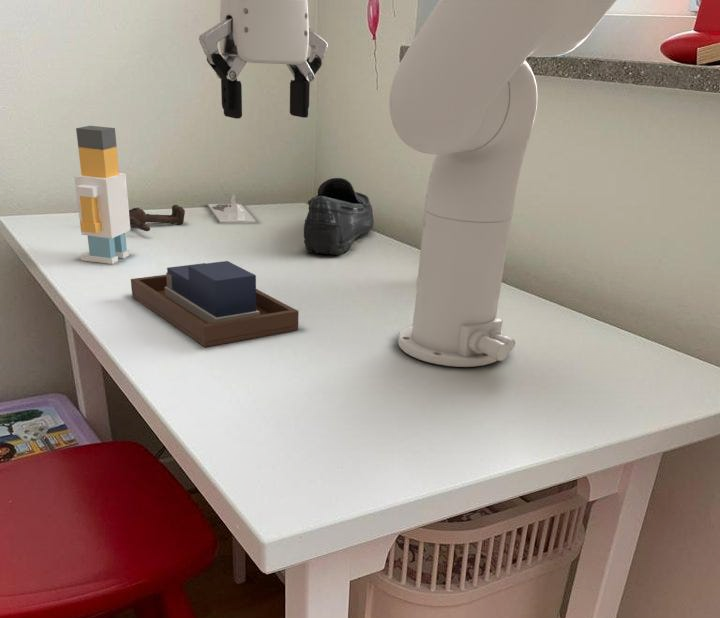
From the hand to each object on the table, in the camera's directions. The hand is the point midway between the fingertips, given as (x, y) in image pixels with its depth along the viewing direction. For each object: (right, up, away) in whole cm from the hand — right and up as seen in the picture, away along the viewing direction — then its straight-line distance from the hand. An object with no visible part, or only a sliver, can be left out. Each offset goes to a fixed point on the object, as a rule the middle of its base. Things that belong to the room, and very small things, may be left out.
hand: (266, 116), depth 95 cm
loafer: (+8, -2, +41) cm, 42 cm away
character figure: (-27, -11, +21) cm, 36 cm away
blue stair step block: (-7, -23, +2) cm, 24 cm away
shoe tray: (-7, -24, +2) cm, 25 cm away
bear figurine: (-27, -1, +40) cm, 48 cm away
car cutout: (-13, +6, +52) cm, 54 cm away
